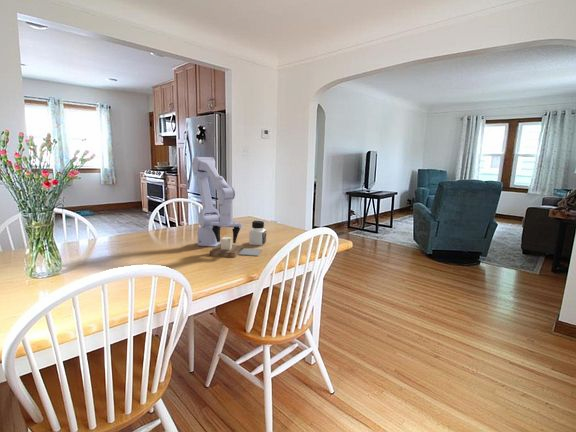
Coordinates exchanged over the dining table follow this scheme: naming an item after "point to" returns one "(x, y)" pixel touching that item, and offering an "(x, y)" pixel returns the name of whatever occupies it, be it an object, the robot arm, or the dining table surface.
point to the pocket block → (226, 251)
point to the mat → (250, 252)
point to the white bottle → (257, 233)
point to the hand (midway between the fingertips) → (226, 242)
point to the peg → (226, 243)
